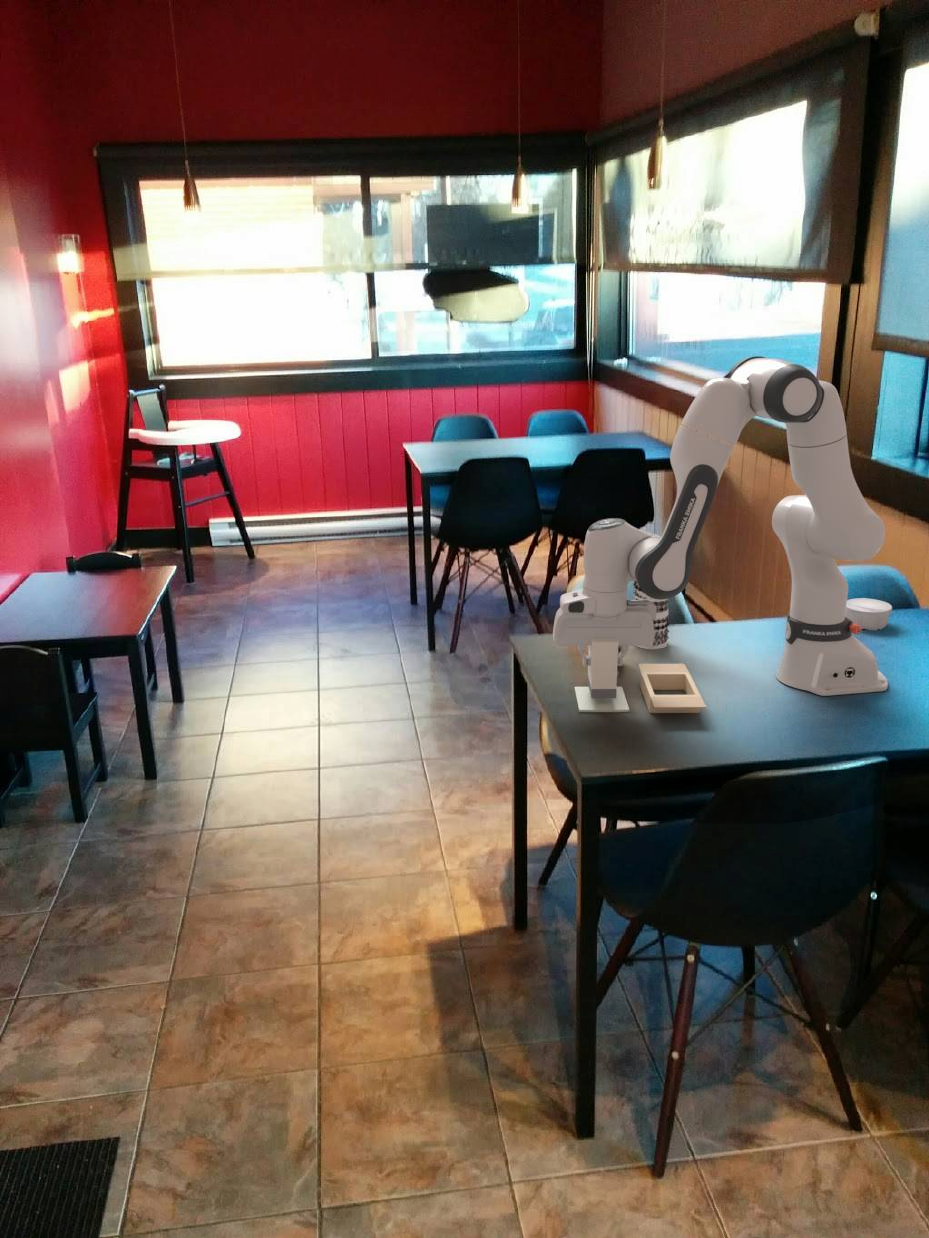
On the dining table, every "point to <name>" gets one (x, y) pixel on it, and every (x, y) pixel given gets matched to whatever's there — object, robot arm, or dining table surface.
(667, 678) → the beige hollow rectangular block
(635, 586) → the decorative candle
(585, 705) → the white rectangular plate
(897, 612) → the dining table surface
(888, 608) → the ramekin
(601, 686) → the cream box
